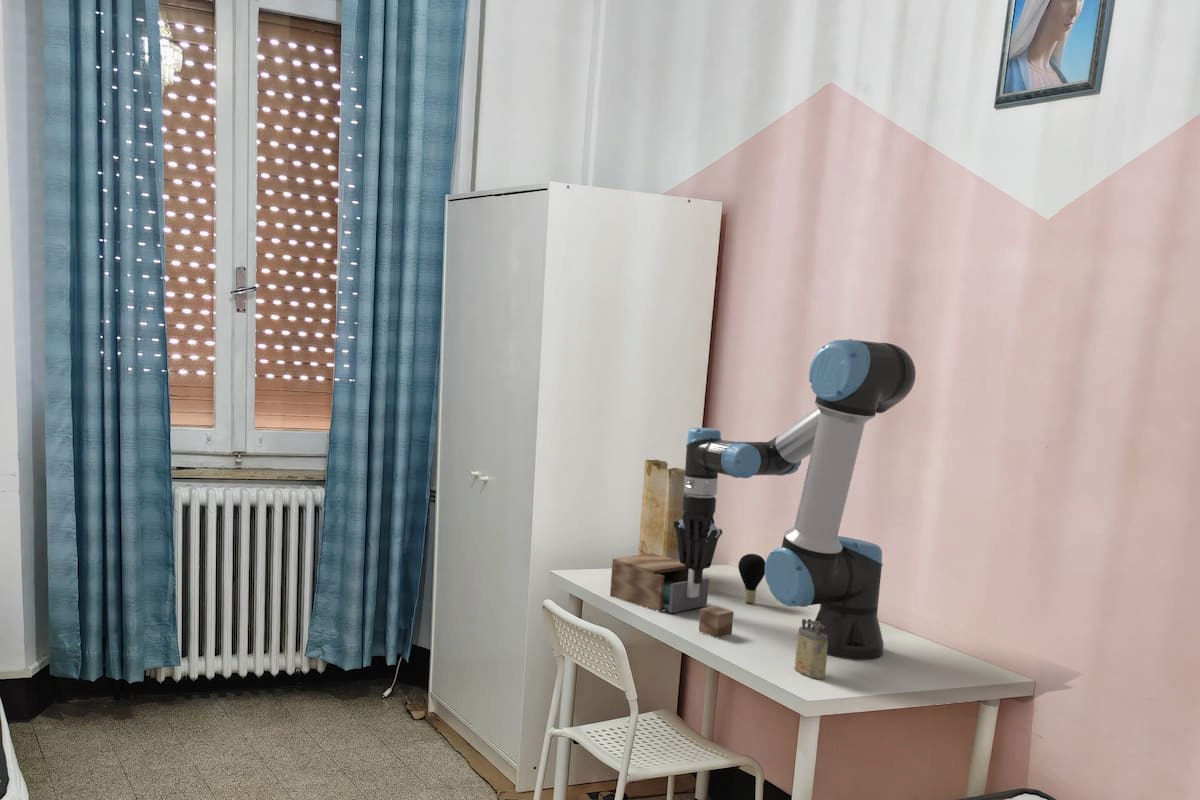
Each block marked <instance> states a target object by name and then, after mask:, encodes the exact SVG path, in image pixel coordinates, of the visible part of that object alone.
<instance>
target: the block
mask: <svg viewBox="0 0 1200 800" xmlns="http://www.w3.org/2000/svg"><path fill="white" fill-rule="evenodd" d="M733 623H734V611H733V610H731V609H726V608H723V607H719V606H716V605H713V606H709V607H705V608H700V611H699V624H698V632H699V631H700V632H703V633H706V634H709V635H711V636H710V637H712V636H714V637H713V638H715V637H719V638H722V636H724V637H726V635H728V636H732V635H731V634H732V633H733ZM700 632H699V633H700ZM703 633H702V634H703ZM706 634H705V635H706ZM709 635H708V636H709Z"/></svg>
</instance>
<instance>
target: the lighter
mask: <svg viewBox="0 0 1200 800" xmlns="http://www.w3.org/2000/svg"><path fill="white" fill-rule="evenodd" d="M806 625H807V626H806ZM812 626H813V628H814V629H813V628H812ZM820 628H821V629H824V628H825V626H824V625H822V624H821V622H819V621H815V620H812V619H810V618H809V619H806V618H802V619H801V626H800V627H798V630H797V631H798V632H797V637H796V648H795V661H794V667H793V668H794V670H795V671H796V672H799V673H800V675H805V676H807V677H808V678H811V679H818V680H823V679H826V669H827V658H828V657H827V656H828V654H827V647H828V641H827V638H828V636H827V635H826V634H824V633H822V632H820V631H819V629H820Z"/></svg>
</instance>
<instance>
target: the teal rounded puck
mask: <svg viewBox="0 0 1200 800" xmlns="http://www.w3.org/2000/svg"><path fill="white" fill-rule="evenodd" d="M673 583H678V582H676V581H667V580H664V590H663V603H669V601H670V587H671V584H673Z"/></svg>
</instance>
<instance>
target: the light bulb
mask: <svg viewBox="0 0 1200 800" xmlns="http://www.w3.org/2000/svg"><path fill="white" fill-rule="evenodd" d="M738 561H739V562H738V570H739V574H740V577H741V579H742V582H743V585H744V587H745V588H744V593H745V594H744V600H743V601H745V603H747V604H754V603H755V601H756V596H757V595H756V593H757V587H758V586H759V585H760V583H761V582H762V581H763V579H764V578H765V563H766V560H765V559H764V558H763V557H762V556H761V555H759V554H757V553H747V554H745V555H743V556H742V557H741V558H740V560H738Z"/></svg>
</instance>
